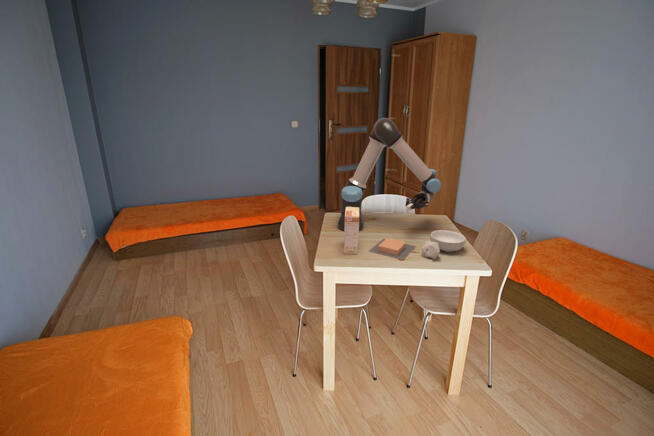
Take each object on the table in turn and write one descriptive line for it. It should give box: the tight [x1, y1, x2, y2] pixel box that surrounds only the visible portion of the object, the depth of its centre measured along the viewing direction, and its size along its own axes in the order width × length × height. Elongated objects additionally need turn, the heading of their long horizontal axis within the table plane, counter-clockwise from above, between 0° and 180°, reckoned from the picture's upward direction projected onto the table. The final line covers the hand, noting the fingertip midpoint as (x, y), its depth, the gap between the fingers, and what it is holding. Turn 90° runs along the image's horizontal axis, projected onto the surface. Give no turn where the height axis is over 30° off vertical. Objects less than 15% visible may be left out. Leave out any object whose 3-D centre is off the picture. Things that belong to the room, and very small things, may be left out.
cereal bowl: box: [429, 229, 467, 253], centre depth 175 cm, size 17×17×7 cm
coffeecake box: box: [343, 207, 360, 255], centre depth 172 cm, size 15×7×20 cm, turn 175°
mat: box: [368, 238, 417, 261], centre depth 173 cm, size 18×19×1 cm
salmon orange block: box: [378, 237, 407, 256], centre depth 172 cm, size 10×3×12 cm
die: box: [421, 240, 441, 260], centre depth 165 cm, size 8×9×10 cm
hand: (407, 208), depth 179 cm, fingers closed
